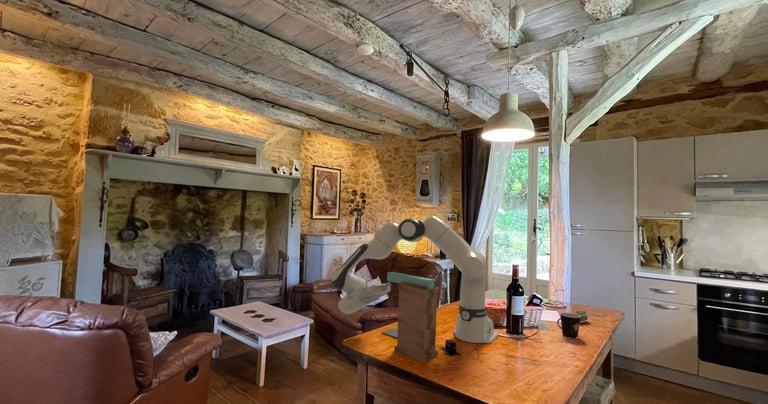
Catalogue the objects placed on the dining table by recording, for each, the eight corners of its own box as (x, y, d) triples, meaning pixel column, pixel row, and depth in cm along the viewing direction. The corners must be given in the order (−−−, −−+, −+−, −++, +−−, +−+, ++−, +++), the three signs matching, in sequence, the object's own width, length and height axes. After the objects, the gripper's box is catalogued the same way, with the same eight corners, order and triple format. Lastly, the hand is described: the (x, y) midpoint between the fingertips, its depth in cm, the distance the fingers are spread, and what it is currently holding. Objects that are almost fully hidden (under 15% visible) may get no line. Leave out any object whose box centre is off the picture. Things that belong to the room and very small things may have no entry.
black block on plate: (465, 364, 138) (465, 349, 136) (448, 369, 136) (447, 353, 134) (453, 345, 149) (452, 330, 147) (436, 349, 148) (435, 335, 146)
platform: (560, 321, 192) (560, 309, 193) (581, 318, 200) (581, 306, 201) (581, 328, 182) (581, 315, 182) (601, 324, 190) (602, 312, 190)
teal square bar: (392, 279, 151) (392, 271, 151) (433, 288, 136) (434, 279, 136) (387, 280, 149) (387, 272, 149) (428, 289, 134) (428, 280, 134)
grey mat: (395, 329, 167) (395, 327, 167) (432, 342, 151) (432, 340, 152) (382, 333, 160) (382, 331, 160) (419, 347, 145) (419, 345, 145)
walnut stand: (410, 345, 147) (412, 279, 148) (437, 355, 137) (439, 285, 138) (394, 351, 139) (396, 282, 141) (422, 362, 130) (424, 288, 131)
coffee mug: (575, 333, 171) (575, 313, 171) (583, 339, 162) (583, 318, 162) (550, 332, 172) (551, 311, 172) (557, 338, 163) (558, 316, 164)
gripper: (343, 292, 155) (362, 281, 147) (376, 287, 170) (394, 276, 162) (348, 306, 152) (367, 295, 144) (380, 299, 167) (399, 289, 159)
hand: (382, 285), depth 153 cm, fingers open, 8 cm apart
